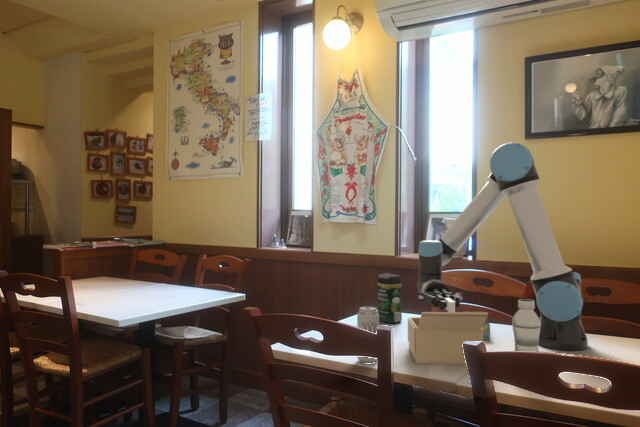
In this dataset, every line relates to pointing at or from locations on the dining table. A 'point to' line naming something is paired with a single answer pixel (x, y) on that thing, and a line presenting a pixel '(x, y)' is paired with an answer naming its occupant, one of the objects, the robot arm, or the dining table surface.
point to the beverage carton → (484, 327)
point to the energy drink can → (368, 325)
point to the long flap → (452, 320)
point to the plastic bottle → (526, 326)
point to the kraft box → (439, 344)
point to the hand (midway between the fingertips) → (452, 307)
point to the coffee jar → (389, 298)
